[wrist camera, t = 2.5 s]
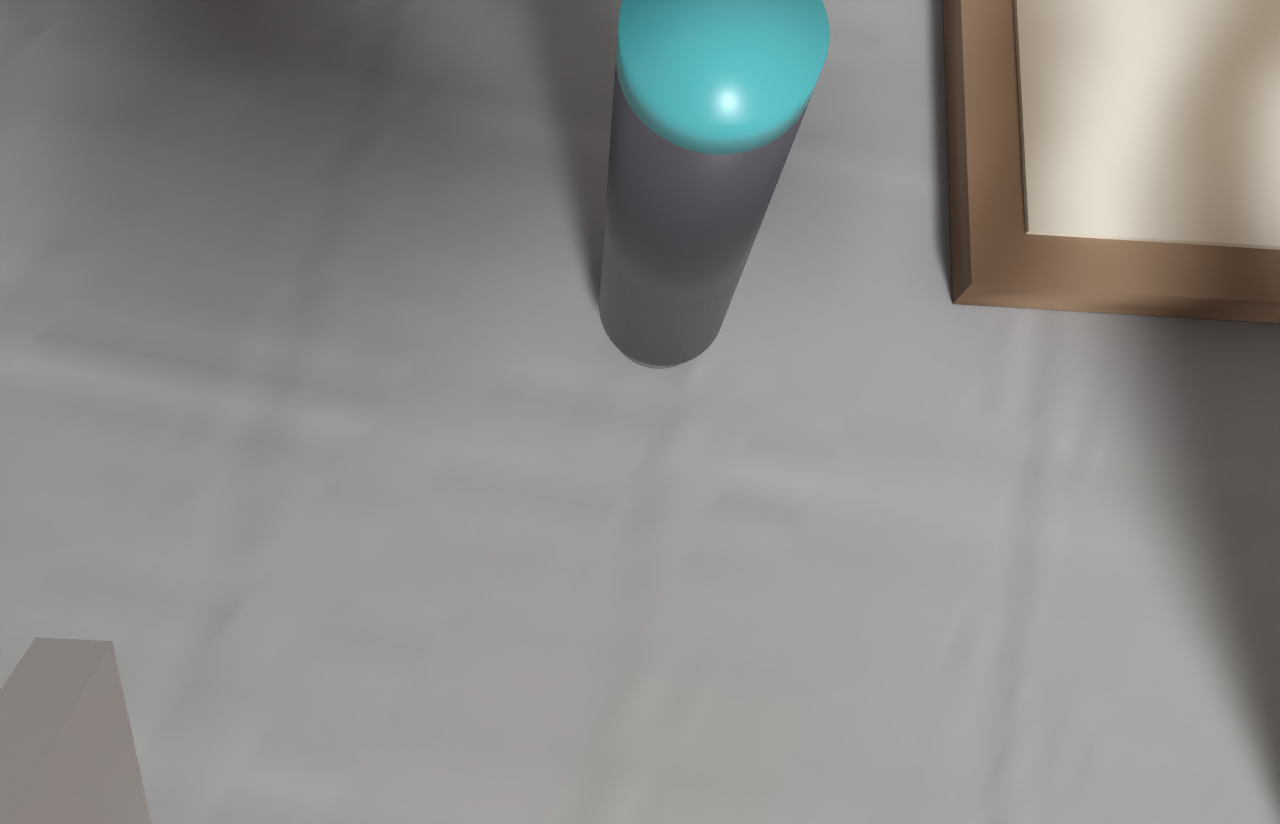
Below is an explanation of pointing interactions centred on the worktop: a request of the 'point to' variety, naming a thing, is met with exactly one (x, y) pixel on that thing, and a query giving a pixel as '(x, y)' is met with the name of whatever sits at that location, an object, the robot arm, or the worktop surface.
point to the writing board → (1115, 156)
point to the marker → (697, 159)
